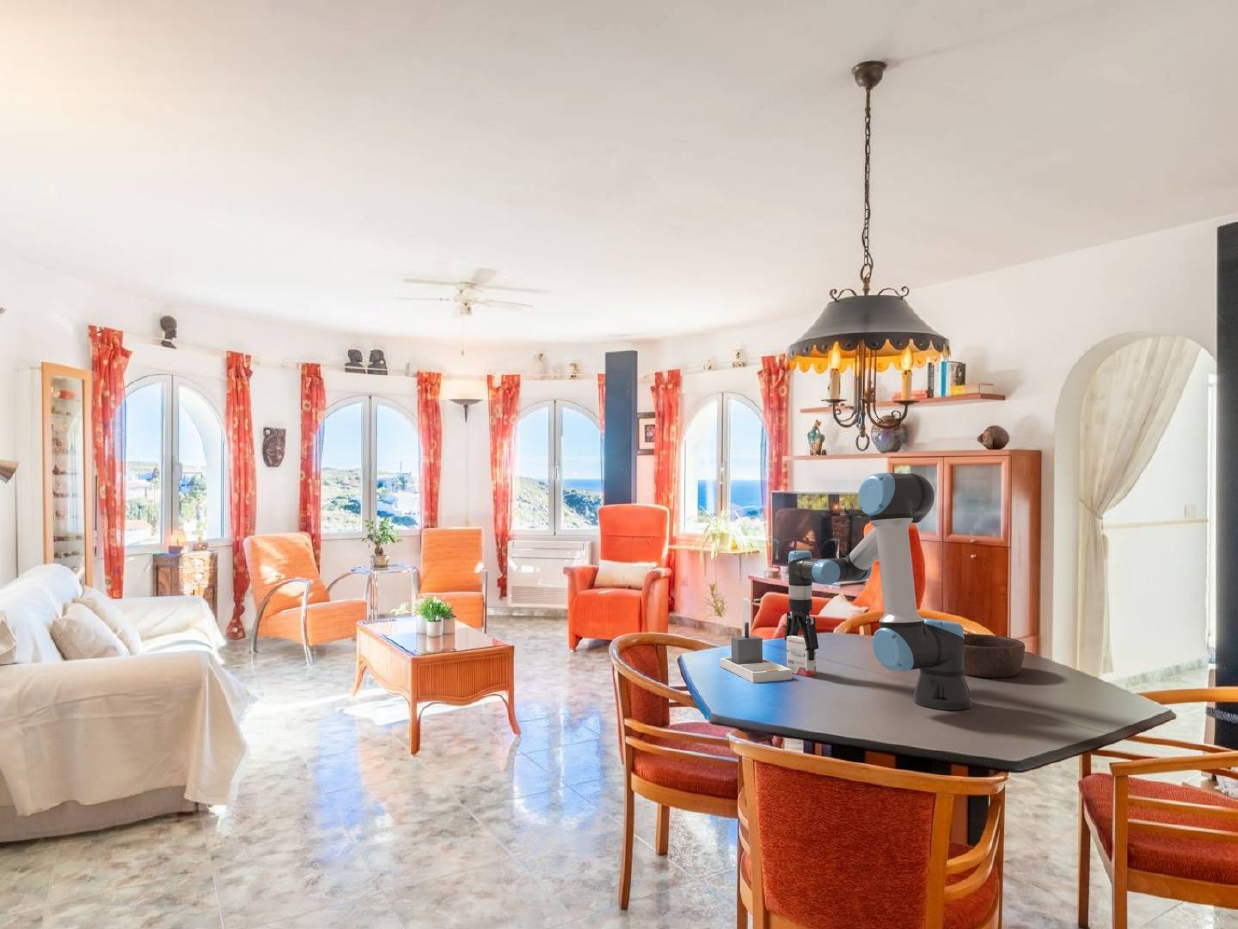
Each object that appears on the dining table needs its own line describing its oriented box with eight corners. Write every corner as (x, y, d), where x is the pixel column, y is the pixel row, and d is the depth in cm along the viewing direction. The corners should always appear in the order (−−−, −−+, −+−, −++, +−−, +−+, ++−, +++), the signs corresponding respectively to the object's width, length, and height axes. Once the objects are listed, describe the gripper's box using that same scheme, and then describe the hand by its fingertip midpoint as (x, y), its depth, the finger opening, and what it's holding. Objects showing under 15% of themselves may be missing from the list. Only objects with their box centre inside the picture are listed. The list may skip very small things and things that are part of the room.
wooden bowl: (1040, 674, 249) (1040, 642, 250) (998, 685, 235) (998, 651, 236) (968, 660, 270) (968, 630, 270) (926, 669, 256) (925, 638, 256)
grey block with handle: (762, 668, 256) (762, 623, 256) (738, 670, 253) (738, 624, 253) (755, 665, 260) (755, 620, 261) (731, 667, 258) (731, 622, 258)
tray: (792, 679, 243) (792, 668, 243) (752, 682, 238) (752, 672, 238) (757, 664, 264) (756, 654, 265) (720, 667, 260) (720, 657, 260)
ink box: (816, 674, 249) (816, 638, 249) (807, 677, 246) (806, 639, 246) (795, 670, 255) (795, 634, 256) (786, 672, 252) (785, 636, 253)
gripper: (829, 601, 242) (830, 673, 241) (792, 593, 263) (793, 659, 262) (809, 603, 240) (809, 675, 239) (773, 594, 261) (774, 660, 260)
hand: (801, 666), depth 251 cm, fingers closed on ink box, 9 cm apart
